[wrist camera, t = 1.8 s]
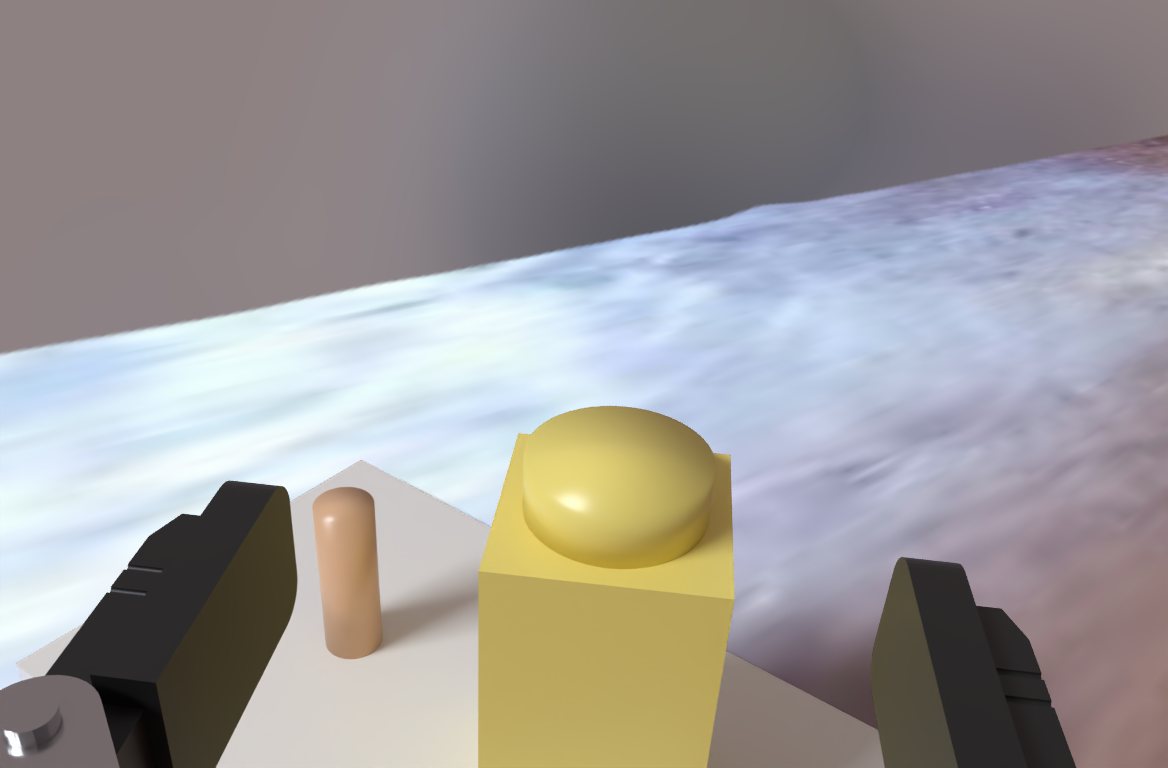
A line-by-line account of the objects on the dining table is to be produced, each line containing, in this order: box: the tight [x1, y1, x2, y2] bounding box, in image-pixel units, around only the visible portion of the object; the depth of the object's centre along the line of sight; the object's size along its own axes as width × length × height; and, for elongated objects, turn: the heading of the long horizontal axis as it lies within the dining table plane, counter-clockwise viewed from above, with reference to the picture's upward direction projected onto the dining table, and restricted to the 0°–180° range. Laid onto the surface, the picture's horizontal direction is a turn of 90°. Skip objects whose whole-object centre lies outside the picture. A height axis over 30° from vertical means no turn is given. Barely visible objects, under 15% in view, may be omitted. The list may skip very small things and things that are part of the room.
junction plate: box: [16, 460, 885, 768], centre depth 34 cm, size 16×26×8 cm, turn 54°
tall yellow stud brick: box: [478, 406, 734, 768], centre depth 29 cm, size 6×6×13 cm
